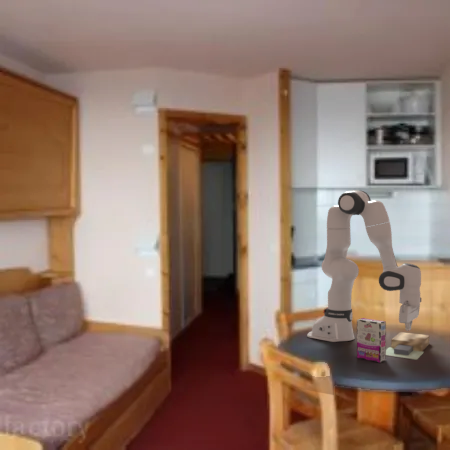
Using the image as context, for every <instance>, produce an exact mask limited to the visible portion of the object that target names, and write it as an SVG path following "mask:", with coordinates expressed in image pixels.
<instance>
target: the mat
mask: <svg viewBox="0 0 450 450" xmlns="http://www.w3.org/2000/svg"><path fill="white" fill-rule="evenodd" d="M424 352H425V351H414V350H413V351H412V352H411V353H410V354H409V355H402V354H394V348H391V346H390V347H387V348H386V357H393V358H402V359H408V360H409V359H410V360H415V361H417V360H419V358H421V356H422V355H423V354H424Z"/></svg>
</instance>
